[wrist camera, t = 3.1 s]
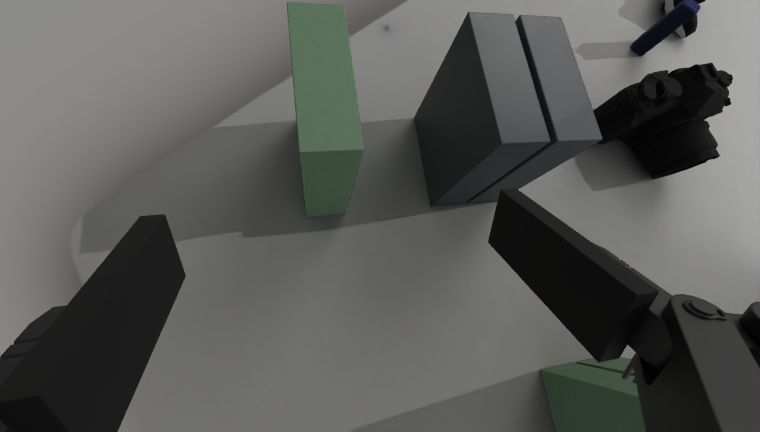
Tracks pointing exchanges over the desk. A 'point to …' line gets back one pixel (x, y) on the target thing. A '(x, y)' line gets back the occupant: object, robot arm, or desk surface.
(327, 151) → the sage book
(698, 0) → the gaming controller
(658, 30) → the blue rectangular bar
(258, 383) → the desk surface
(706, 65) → the film camera
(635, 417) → the green book
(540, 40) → the grey book
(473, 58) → the grey book
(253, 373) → the desk surface
